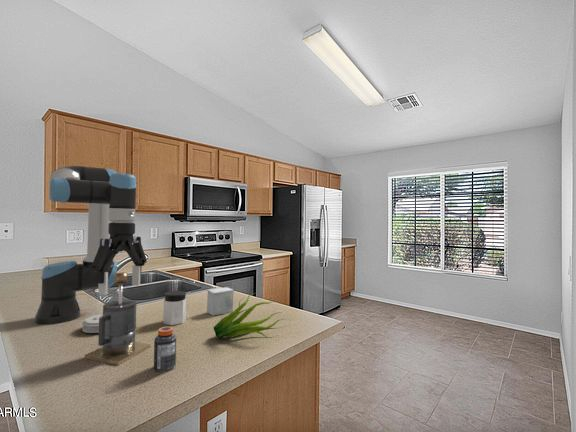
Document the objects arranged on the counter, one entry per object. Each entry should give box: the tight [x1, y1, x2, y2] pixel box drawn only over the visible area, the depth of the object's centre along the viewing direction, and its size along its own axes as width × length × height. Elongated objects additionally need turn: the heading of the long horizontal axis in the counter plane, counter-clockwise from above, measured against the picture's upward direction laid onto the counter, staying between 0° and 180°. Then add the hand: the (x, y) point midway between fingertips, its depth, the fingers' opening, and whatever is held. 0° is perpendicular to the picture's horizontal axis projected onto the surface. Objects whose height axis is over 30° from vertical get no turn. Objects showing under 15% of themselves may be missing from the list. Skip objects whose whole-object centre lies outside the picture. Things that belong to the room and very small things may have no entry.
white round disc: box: [81, 313, 103, 334], centre depth 117 cm, size 13×13×5 cm
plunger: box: [114, 272, 128, 305], centre depth 97 cm, size 4×4×18 cm
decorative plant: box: [213, 292, 290, 340], centre depth 116 cm, size 18×30×15 cm, turn 94°
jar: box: [162, 290, 187, 326], centre depth 126 cm, size 9×8×12 cm
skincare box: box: [206, 287, 235, 317], centre depth 140 cm, size 10×6×10 cm, turn 131°
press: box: [84, 299, 151, 366], centre depth 97 cm, size 13×14×16 cm
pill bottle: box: [153, 326, 177, 373], centre depth 88 cm, size 6×6×11 cm
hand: (120, 289), depth 97 cm, fingers open, 12 cm apart
